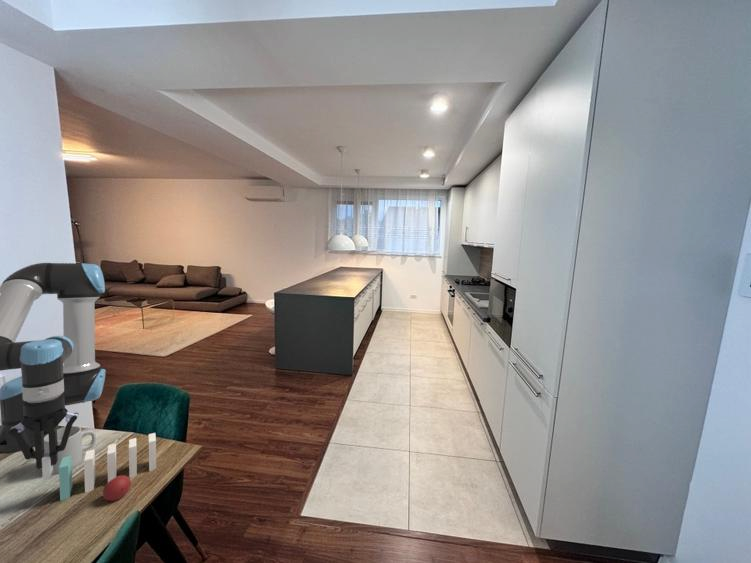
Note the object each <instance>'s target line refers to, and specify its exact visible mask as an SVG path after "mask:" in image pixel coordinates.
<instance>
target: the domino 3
mask: <svg viewBox="0 0 751 563" xmlns="http://www.w3.org/2000/svg"><path fill="white" fill-rule="evenodd" d="M107 445H108V446H107V454H106V455H107V456H106V457H107V458H106V460H107V466H106V467H107V483H108V482H109V481H111V480H112V479H114V478H115V477H117V476H118V475H117V473H118V468H117V466H118V465H117V464H118V462H117V443H116V442H115V443H112V444H111V443H110V444H107Z"/></svg>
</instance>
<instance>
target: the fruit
mask: <svg viewBox="0 0 751 563" xmlns="http://www.w3.org/2000/svg"><path fill="white" fill-rule="evenodd" d="M131 484H132V482H131V479H130V478H129V476H127V475H124V474H123V475H117V476H116V477H115V478H114V479H112V480H111V481H109V482H108V481H107V483H106V484H105V485H104V487H103V490H102V496H103V498H104V499H105V500H106V501H109V502H117V501H119V500H120V499H122V498H124V497H125V495H126V494H127V493H128V492H129V490H130V488H131Z"/></svg>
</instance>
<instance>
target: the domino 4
mask: <svg viewBox="0 0 751 563" xmlns="http://www.w3.org/2000/svg"><path fill="white" fill-rule="evenodd" d="M137 453H138V452H137V437H135V438H131V439H130V438H129V440H128V466H129V468H128V470H129V471H128V472H129V473H128V474H129V475H128V478H129V479H130V478H134V477H136V476H138V462H137V461H138V455H137Z"/></svg>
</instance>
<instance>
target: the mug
mask: <svg viewBox="0 0 751 563" xmlns="http://www.w3.org/2000/svg"><path fill="white" fill-rule="evenodd" d="M64 431H65V427H61V428H59V429H58V430H57V441H58V445H60V444H61V441H62V437H63V434H64ZM88 435H89V436H91V441H90V442H89V444H86V445H83V444H82V441H83V440H82V438H84V437H86V436H88ZM96 440H97V436H96V433H95V431H94V430H92V429H86V430H82V429H81V427H80V426H75V425H74V426H73V425H72V428H71V431H70V435H69V438H68V441H67V444H66V447H65V449H64V450H63V451H59V452H58V461H57V463H56V465H53V474H52V476H53V475H59V466H60V464H61V461H62V458H64V457H67V456H71V461H72V469H74V468H75V467H77V466H78V465H79V464H80V463H81V462H82V460H83V452H85V451H89V449H90V450H91V449H92V448H93V447H94V445H95V443H96ZM44 450H45V451H44V453H47V452H49V434H48V435H46V436H45V437H44Z"/></svg>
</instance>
